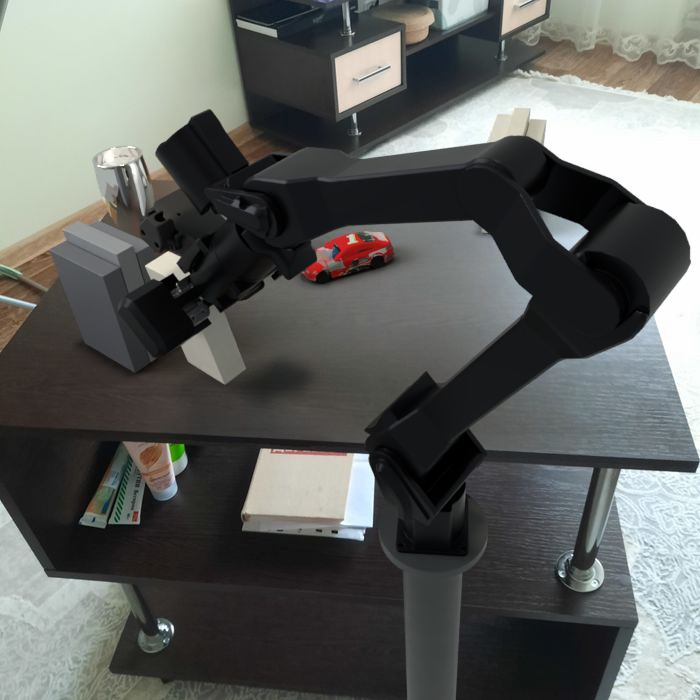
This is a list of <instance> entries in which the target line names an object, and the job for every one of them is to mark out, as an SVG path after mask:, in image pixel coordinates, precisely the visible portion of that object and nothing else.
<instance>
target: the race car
mask: <svg viewBox="0 0 700 700" xmlns="http://www.w3.org/2000/svg"><path fill="white" fill-rule="evenodd" d="M314 249H315V251H316V255H317V261H316V262H315V263H314V264H312V265H311V266H310V267H308V268H307V269H305V270H304V271H302V272H301V273H300V275H301V276H302V277H304V278H305V279H306V280H309V281H313V282H318V283H319V284H325V283H327V282H328V281H330V279H334V278H335V279H336V278H339V277H341V276H345V275H348V274H352V273H356V272H359V271H364V270H366V269H367V270H368V269H370V268H371V267H372V268H373V269H378V268H380V267H382V266H383V264H386V263H388V262H389V261H391V260H392V259H393V258H394V255H395V252H394V251H395V250H394V246H393V244H392V242H391V239H390V238H389V237H388V236H387V234H386V233H384V232H382V231H374V230H373V231H366V230H365V231H357V232H351V233H347V234H344V235H340V236H337V237H335V238H333V239H331V240H330V241H329V240H326V242H325V244H324V245H323V246H320V247H318V248H314Z"/></svg>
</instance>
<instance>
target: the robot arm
mask: <svg viewBox="0 0 700 700" xmlns="http://www.w3.org/2000/svg"><path fill="white" fill-rule="evenodd" d="M154 155H155V158H156V159H157V160H158V161H159V163H160V164H161V165H162V167H163V168H164V169H165V170H166V172H167V173H168V174H169V176H170V177H171V179H172V180H173V181H174V182H175V184H176V185H177V186H178V189H176V190H174V191H172V192H171V193H168V194H166V195H164V196H163V197H161V198H158V199H157V200H155V203H154V205H153V207H152V208H150V209H148V210H146V215H145V216H144V217H142V218H141V223H140V236H141V238H142V240H143V241H145V242H146V243H147V244H148V245H149V246H150V247H151V248H152V249H153V250H154V251H156V252H157V253H162V252H164V251H165V252H167V251H170V252H171V253H176V255H178V256H179V255H180V257H181V258H180V259H179V260H178V262H177V263H176V264H177V265H178V266H179V268H180V269H181V270H182V272H183V273H184V274H186V273H188V272H189V273H190V275H188V276H187V277H185V278H183V279H182V280H180V281H179V280H178V279H177V277H176V276H175V275H174V273H172V274H170V275H169V276H167V277H165V278H164V279H162V280H160V281H158V280H156V279H152V280H150V281H149V282H147V283H145V284H144V285H142V286H140V287H139V288H137V289H135V290H134V291H132V292H130V293H129V294H127V295H125V296H124V297H123V298H122V300H121V301H120V303H119V304H118V311H117V312H118V313H119V315H120V316H121V317H122V319H123V320H124V321H125V322H126V324H127V325H128V326H129V327H130V329H131V330H132V331H133V333H134V334H135V335H136V336H137V338H138V339H139V340H140V342H141V343H142V344H143V345H144V347H145V348H146V349H147V351H148V352H149V353H150V354H151V356H152V357H153V358H157V359H159V360H163V359H164V358H165V357H167V356H169V355H170V354H171V353H173V352H174V351H176V350H177V349H178V348H180V347H181V345H183V344H184V343H185V342H187V341H188V340H189V339H191V338H192V337H193V336H195V335H196V334H198V333H199V332H201V331H202V330H204V329H205V328H207V327H208V326H209V325H211V324H212V323H211V322H210V320H209V319H208V318H207V317H209V315H210V307H211V306H212V305H214V306H215V307H216V308H217V310H218V311H219V312H220V313H222V312H223V311H224V312H225V311H227V310H228V309H229V308H231V307H232V306H233V305H235V304H237V303H238V302H243V301H247V300H249V299H250V298H252V297H253V296H255V295H256V294H257V293H259V292H260V291H262V290H263V289H265V287H266V286H265V284H266V283H265V281H264V280H265V279H267V278H268V277H271V279H272V280H273V281H277V280H278V279H280V278H281V277H283V278H284V279H285V280H286V281H291V280H293V279H295V278H296V277H297V276H298V275H301V272H302V271H304V270H305V269H307V268H308V267H310V266H311V265H312V264H314V263H315V262H316V261H317V255H316V251H315V249H316V248H314V246H313V244H312V240H315V239H317V238H319V237H322V236H324V235H326V234H328V233H331V232H334V231H335V230H339V229H341V228H345V227H351V226H353V227H354V226H376V225H399V224H421V223H424V224H425V223H445V222H446V223H447V222H467V221H469V222H470V221H473V222H474V223H475V224H477V225H478V226H479V227H480V228H481V229H482V228H483V229H484V230H485V231H486V232H488V233H487V234H488V235H490V236H491V237H492V239H493V242H495V243H494V244H495V246H496V247H497V249H498V251H499V252H500V255H501V256H502V258H503V260H504V262H505V263H506V266H507V268H508V269H509V271H510V273H511V276H512V277H513V279H514V280H515V282H516V283H517V284H518V286H520V287H521V288H522V289H523V290H525V291H526V292H527V293H528V294H529V295H530V296H531V298H530V299H529V301H528V302H527V304H526V307H525V309H524V311H523V313H522V314H521V315H520V316H519V317H517V318H516V319H515V320H514V321H513V322H512V323H510V324H509V326H507V327H506V328H505V329H504V330H503V331H502V332H501V333H499V335H497V336H496V337H495V338H494V339H493V340H491V341H490V342H489V343H488V344H487V345H486V346H484V347H483V349H481V350H480V351H479V352H478V353H477V354H475V356H474V357H473V358H471V359H470V360H469V361H467V362H466V363H465V364H464V366H462V367H461V368H459V370H458V371H456V372H455V373H454V374H453V375H452V376H451V377H450V378H448V380H446V381H444V382H442V383H441V382H436V381H435V379H434V378H433V377H432V376H431V374H430V373H429V372H428V370H425V371H424V372H423V373H422V374H421V375H420V376H419V377H418V378H416V380H414V382H413V383H412V384H411V385H409V386H408V387H407V388H405V389H404V391H402V392H401V393H400V394H399V395H398V396H397V397H396V398H395V399H394V400H393V401H392V402H390V404H389V405H388V406H386V407H385V409H384V410H383V411H381V413H380V414H378V415H377V417H376V418H375V419H373V420H372V421H371V422H370V423H369V424H368V425H367V426H366V427H364V429H363V431H364V432H365V433H366V434H368V436H367V437H366V439H365V441H364V450H365V452H367V453H368V458H367V460H368V464H369V467H370V469H371V472H372V474H373V477H374V479H375V481H376V485H377V486H378V489H379V491H380V493H381V497H382V499H383V501H384V502H385V503H389V504H390V505H392V506H394V507H395V510H397V514H398V525H397V537H396V550H397V551H398V552H399V553H411V554H427V555H443V556H460V557H464V556H467V555H468V499H467V498H466V497H465V494H466V493H467V491H466V490H467V482H466V481H467V479H469V477H470V476H471V475H472V474H473V472H475V470H476V469H478V468H479V467H480V466H481V465H482V463H483V462H484V460H485V459H486V458H487V456H488V451H487V450H486V449H485V447H484V446H483V444H481V442H480V441H479V439H478V438H477V437H476V435H475V434H474V433H473V431H472V430H471V429H470V428H471V427H473V426H474V425H475V424H476V423H478V422H479V421H481V420H482V419H483V418H485V417H486V416H488V415H489V414H490V413H491V412H493V411H494V410H496V409H497V408H498V407H499V406H501V405H503V404H504V403H505V402H506V401H508V400H509V399H510V398H512V397H513V396H515V395H516V394H518V392H520V391H521V390H522V389H524V388H526V387H527V386H528V385H530V384H531V383H532V382H534V381H535V380H537V379H538V378H539V377H540V376H542V375H543V374H544V373H546V372H547V371H548V370H550V369H551V368H553V367H554V366H555V365H557V364H558V363H560V362H562V361H564V360H585V359H586V360H587V359H590V358H592V357H594V356H596V355H599V354H602V353H604V352H606V351H608V350H611V349H613V348H616V347H618V346H620V345H623V344H625V343H628V342H630V341H631V340H633V339H634V338H635V337H637V335H638V334H639V333H640V332H641V331H642V330H643V329H644V328H645V326H646V325H647V324H648V322H649V321H650V320H651V318H652V317H653V316H654V315H655V314H656V312H657V311H658V309H659V308H660V307H661V306H662V305H663V303H664V302H665V301H666V299H667V298H668V297H669V295H670V294H671V293H672V291H673V290H674V289H675V287H677V285H678V284H679V282H680V281H681V280H682V278H683V277H684V276H685V274H686V273H687V272H688V270H689V268H690V266H691V264H692V260H691V245H690V242H689V238H688V236H687V233H686V231H685V230H684V229H683V228H682V227H681V225H680V224H679V222H678V221H677V219H675V218H674V217H672V216H671V215H669V214H668V213H667V212H665V211H664V210H663V209H660V208H658V207H654V206H652V205H648V204H646V203H645V202H644V201H643V200H641V199H640V198H639V197H637V196H636V194H634V193H632V192H631V191H630V190H628V189H627V188H626V187H624V186H623V185H622V184H620V183H619V182H618V181H617V180H615V179H613V178H611V177H609V176H606V175H604V174H601V173H598V172H597V171H596V172H595V171H593V170H590V169H588V168H586V167H585V168H584V167H582V166H580V165H577V164H575V163H572V162H569V161H566V160H564V159H561V158H560V157H559V156H557V155H556V154H555V153H554V152H553V151H551V150H550V149H549V148H547V147H546V146H545V145H544V146H543V145H542V144H541V143H540V142H538V141H536V140H535V139H533V138H531V137H529V136H520V135H517V136H513V135H510V136H506V137H504V138H502V139H500V140H498V141H495V142H489V143H487V142H482V143H481V142H480V143H475V144H467V145H460V146H459V145H457V146H452V147H451V146H450V147H444V148H436V149H428V150H421V151H413V152H405V153H399V154H398V153H397V154H388V155H382V156H373V157H366V158H360V157H359V158H358V157H350V156H349V155H347V154H346V152H344V151H342V150H340V149H336V148H323V147H312V146H310V147H309V146H306V147H304V148H301V149H299V150H297V151H295V152H294V153H290V152H281V151H271V152H270V153H268V154H266V155H264V156H262V157H261V158H259V159H257V160H255V161H253V162H252V163H250V162H249V161H248V159H247V158H246V157H245V155H244V154H243V153H242V151H241V150H240V149H239V147H238V146H237V145H236V143H235V142H234V140H233V139H232V138H231V137H230V135H229V134H228V133H227V131H226V130H225V128H224V126H223V124H222V123H221V121H220V119H219V118H218V117H217V115H216V114H215V112H214V111H213V110H212V109H211V108H207V109H206V110H202V111H201V112H198V113H197V114H195V115H192V116H191V117H190V118H189V120H188V122H187V123H186V124H184V125H183V126H182V127H180V128H179V129H177V130H176V131H175V132H174V133H173V134H171V135H170V136H169V137H168V138H167V139H166V140H164V141H163V142H161V143H159V145H158V146H157V148H156V149H155V152H154ZM539 211H542V212H544V213H547V214H550V215H552V216H555V217H557V218H561V219H563V220H566V221H568V222H572V223H574V224H577V225H579V226H581V227H582V228H583V229H585V230H586V231H587V232H586V233H585V234H584V235H582V237H580V239H579V240H578V241H577V242H576V243H575V244H574V245H572V247H571V248H569V250H568V248H566V247H565V246H564V245H562V243H560V242H559V241H557V240H556V239H555V238H554V236H553V234H552V233H551V231H550V229H549V227H548V226H547V224H546V222H545V220H544V219H543V216H542V215H541V214H540V212H539ZM222 215H223V216H225V217H226V218H227V220H225V219H224V218H223V216H222ZM192 286H193V288H191V287H192ZM201 297H202V298H203V299H204V300H203V299H200V298H201ZM400 546H403V548H400ZM460 550H465V551H464V552H462V551H460Z"/></svg>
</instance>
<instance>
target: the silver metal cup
mask: <svg viewBox="0 0 700 700" xmlns="http://www.w3.org/2000/svg"><path fill="white" fill-rule="evenodd" d="M91 163H92V165H93V169H94V173H95V174H94V175H95V179H96V184H97V185H98V190H99V193H100V196H101V198H102V201H103V203H104V206H105V208H106V209H107V212H108V214H109V216H110V217H111V219H112V221H113V224H114V225H115V228H116V229H119V230H121V231H123V232H125V233H128V234H130V235H132V236H135V237H137V238H139V239H141V240H142V238H141V236H140V223H141V218H142V217H144V216H145V215H146V210H148V209H150V208H152V207H153V205H154V203H155V202H156V200H155V191H154V185H153V182H152V178H151V174H150V171H149V168H148V164H147V162H146V159H145V157H144V154H143V150H142V149H141V148H139V147H138V146H135V145H134V146H133V145H119V146H113V147H109V148H105V149H103V150H101V151H99V152H98V153H96V154H95V155H94V156H93V157H92V162H91ZM154 253H155V257H156V258H158V257H160V256H161V255H163V254H165V253H166V251H164V252H162V253H157V252H156V251H154Z"/></svg>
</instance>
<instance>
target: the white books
mask: <svg viewBox="0 0 700 700" xmlns="http://www.w3.org/2000/svg"><path fill="white" fill-rule="evenodd" d="M531 110H532V108H530V107H514V108H513V110H512V111H513V112H512V114H509V113H507V114H506V113H497V114H496V117H495V120H494V123H493V125H492V128H491V131H490V134H489V136H488V139H487V141H486V143H489V142H495V141H498V140H500V139H502V138H504V137H506V136H510V135H513V136H517V135H520V136H529V137H531V138H533V139H535V140H536V141H538V142H540V143H541V144H542V145H543V146H545V138H546V128H547V119H537V118H531ZM481 233H482V234H489V233H488V232H486V231H485V230H484V229H483V228H481Z"/></svg>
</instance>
